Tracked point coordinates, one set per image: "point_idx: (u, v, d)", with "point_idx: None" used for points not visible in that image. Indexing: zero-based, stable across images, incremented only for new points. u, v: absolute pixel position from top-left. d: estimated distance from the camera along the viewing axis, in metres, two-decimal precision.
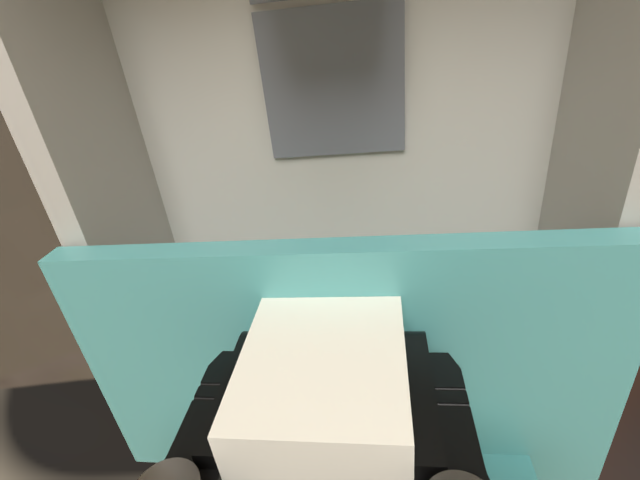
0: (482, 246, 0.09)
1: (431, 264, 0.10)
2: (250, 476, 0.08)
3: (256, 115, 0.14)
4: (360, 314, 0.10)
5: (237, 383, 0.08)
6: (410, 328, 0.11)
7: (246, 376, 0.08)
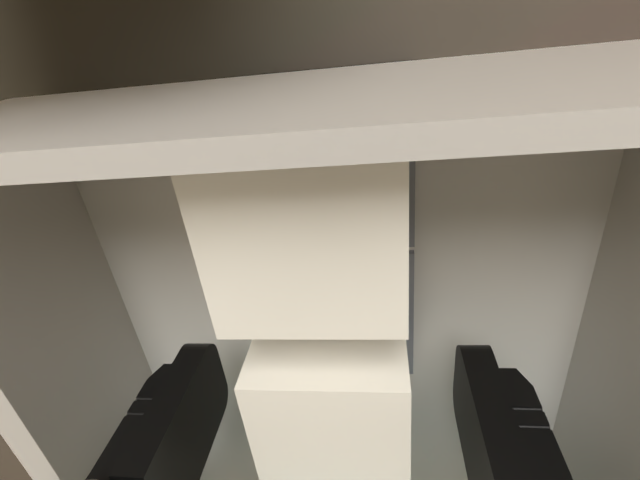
0: None
1: None
2: (270, 425, 0.09)
3: None
4: None
5: (257, 347, 0.09)
6: None
7: (264, 342, 0.10)
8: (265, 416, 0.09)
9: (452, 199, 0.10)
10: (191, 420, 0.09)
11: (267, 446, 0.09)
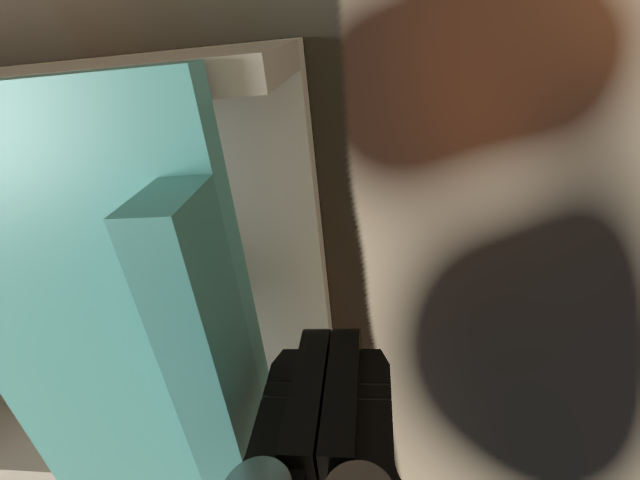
0: None
1: None
2: None
3: None
4: None
5: None
6: (21, 311, 0.11)
7: None
8: None
9: None
10: None
11: None
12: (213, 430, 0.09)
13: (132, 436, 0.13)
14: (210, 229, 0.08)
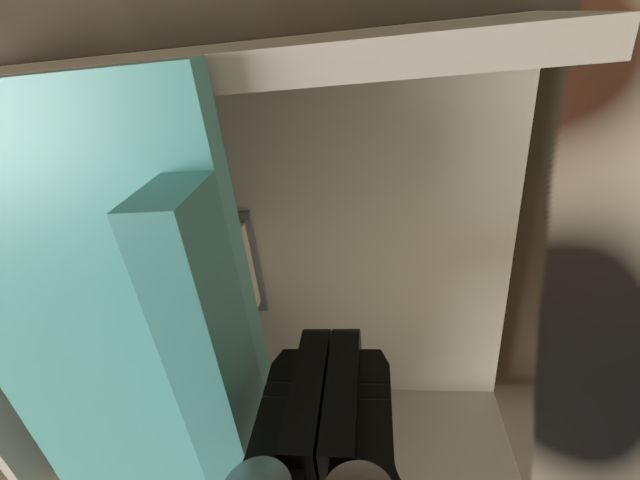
0: None
1: None
2: None
3: None
4: None
5: None
6: (23, 308, 0.11)
7: None
8: None
9: None
10: None
11: None
12: (215, 425, 0.09)
13: (134, 434, 0.13)
14: (212, 224, 0.08)
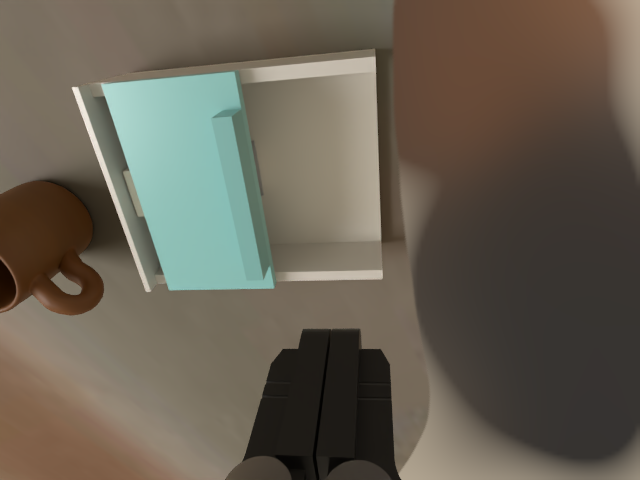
0: (123, 148, 0.27)
1: (133, 165, 0.27)
2: None
3: None
4: None
5: None
6: (162, 170, 0.27)
7: None
8: None
9: None
10: None
11: None
12: (241, 203, 0.26)
13: (201, 236, 0.30)
14: (240, 127, 0.25)
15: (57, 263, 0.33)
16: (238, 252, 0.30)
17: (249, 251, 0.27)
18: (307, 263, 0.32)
